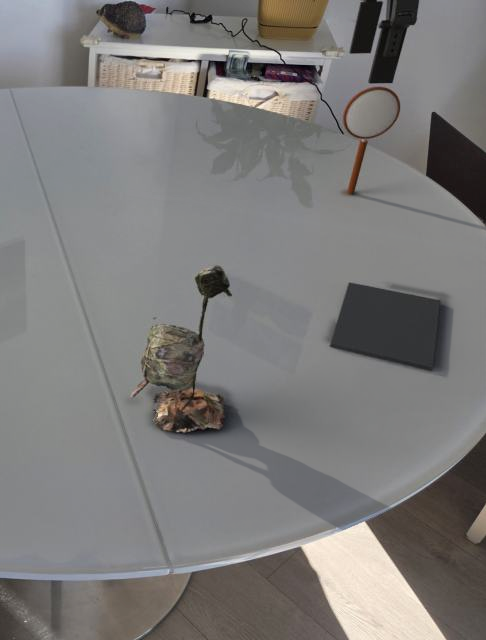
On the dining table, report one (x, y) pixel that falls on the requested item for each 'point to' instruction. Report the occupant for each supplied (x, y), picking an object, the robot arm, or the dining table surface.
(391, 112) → the magnifying glass
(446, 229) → the dining table surface
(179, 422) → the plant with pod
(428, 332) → the mat
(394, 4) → the robot arm
